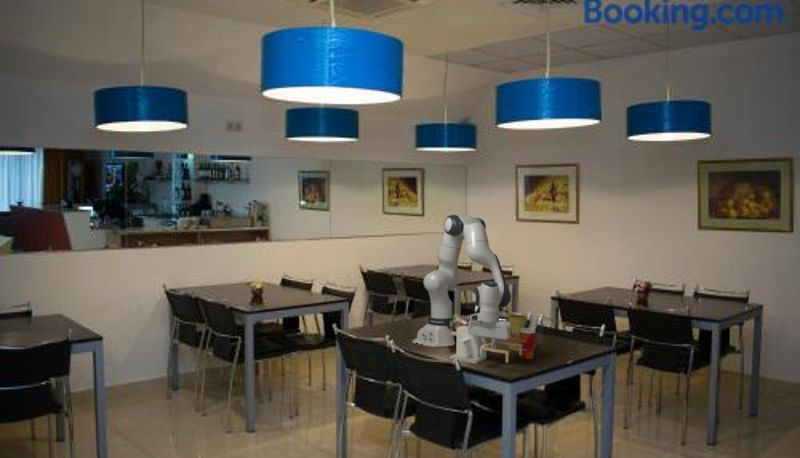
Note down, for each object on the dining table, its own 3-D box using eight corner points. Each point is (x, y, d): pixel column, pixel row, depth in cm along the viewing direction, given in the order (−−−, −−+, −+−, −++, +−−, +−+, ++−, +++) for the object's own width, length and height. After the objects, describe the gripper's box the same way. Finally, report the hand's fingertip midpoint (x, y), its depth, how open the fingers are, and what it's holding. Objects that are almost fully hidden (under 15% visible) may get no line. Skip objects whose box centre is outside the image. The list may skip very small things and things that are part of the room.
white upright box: (490, 358, 316) (491, 328, 315) (477, 365, 303) (478, 334, 303) (456, 354, 325) (457, 324, 324) (443, 360, 313) (443, 329, 312)
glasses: (507, 362, 291) (508, 351, 291) (479, 357, 299) (479, 346, 298) (521, 355, 305) (522, 343, 305) (494, 350, 312) (494, 339, 312)
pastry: (523, 344, 348) (523, 329, 347) (540, 350, 334) (540, 334, 334) (501, 346, 342) (501, 331, 342) (518, 353, 329) (518, 337, 328)
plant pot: (526, 332, 379) (526, 315, 378) (526, 335, 368) (526, 318, 368) (508, 331, 380) (508, 314, 380) (507, 335, 370) (508, 317, 370)
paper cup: (517, 356, 321) (517, 327, 321) (532, 355, 322) (532, 327, 321) (521, 360, 314) (521, 330, 313) (537, 359, 314) (537, 330, 314)
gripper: (513, 318, 301) (512, 348, 302) (472, 313, 312) (471, 342, 313) (507, 320, 296) (507, 351, 297) (466, 315, 307) (465, 345, 308)
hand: (488, 346), depth 305 cm, fingers closed on glasses
